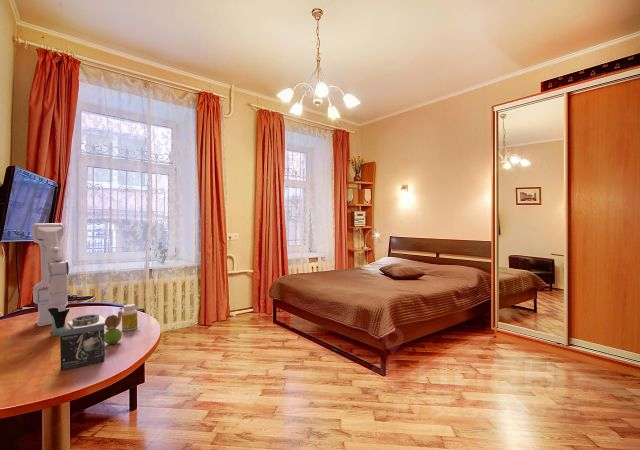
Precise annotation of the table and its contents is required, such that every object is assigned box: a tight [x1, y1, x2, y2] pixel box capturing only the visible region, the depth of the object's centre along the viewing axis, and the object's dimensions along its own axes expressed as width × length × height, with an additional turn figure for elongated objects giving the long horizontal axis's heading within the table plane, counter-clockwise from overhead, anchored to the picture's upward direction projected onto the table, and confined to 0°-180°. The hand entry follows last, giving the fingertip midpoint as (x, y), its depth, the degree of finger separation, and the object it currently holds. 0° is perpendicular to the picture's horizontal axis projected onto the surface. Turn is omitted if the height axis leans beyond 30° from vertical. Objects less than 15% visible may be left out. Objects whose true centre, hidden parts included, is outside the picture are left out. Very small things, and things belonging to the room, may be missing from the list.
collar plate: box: [67, 313, 107, 329], centre depth 135 cm, size 15×12×3 cm
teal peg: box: [49, 316, 69, 337], centre depth 122 cm, size 4×5×8 cm
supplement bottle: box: [121, 303, 138, 332], centre depth 126 cm, size 5×5×10 cm
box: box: [59, 324, 106, 372], centre depth 96 cm, size 11×7×10 cm, turn 123°
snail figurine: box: [104, 307, 124, 345], centre depth 111 cm, size 5×6×12 cm
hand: (58, 326), depth 122 cm, fingers closed on teal peg, 4 cm apart
